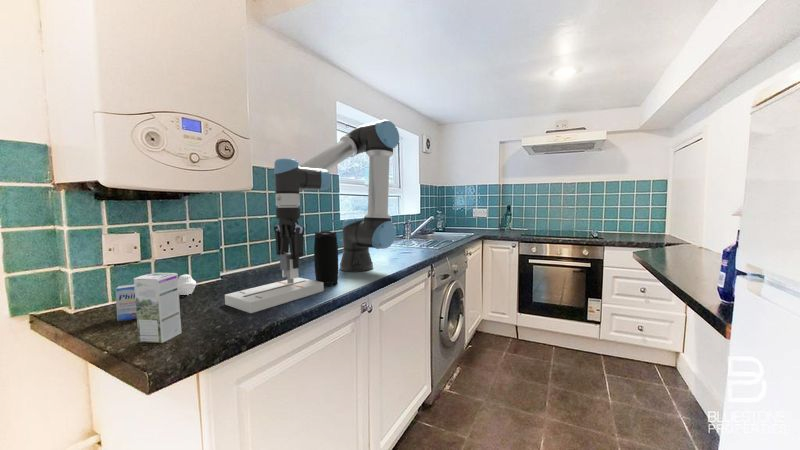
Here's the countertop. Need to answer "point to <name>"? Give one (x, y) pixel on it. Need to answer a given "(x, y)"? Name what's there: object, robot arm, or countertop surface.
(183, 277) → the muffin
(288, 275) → the fader tab
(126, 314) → the medicine box
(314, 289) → the fader console
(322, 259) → the portable speaker
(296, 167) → the robot arm
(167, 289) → the syrup box
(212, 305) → the countertop surface
